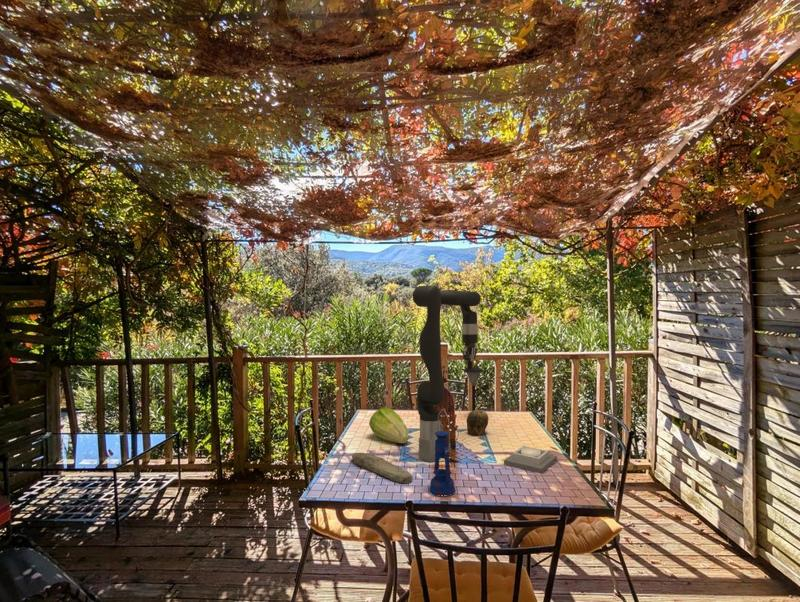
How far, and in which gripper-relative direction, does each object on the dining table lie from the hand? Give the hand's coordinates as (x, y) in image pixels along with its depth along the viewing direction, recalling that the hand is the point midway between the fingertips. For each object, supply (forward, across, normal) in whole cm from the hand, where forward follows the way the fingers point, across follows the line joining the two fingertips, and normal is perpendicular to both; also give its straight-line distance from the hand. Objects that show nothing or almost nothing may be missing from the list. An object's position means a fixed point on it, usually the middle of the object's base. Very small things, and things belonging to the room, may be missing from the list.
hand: (470, 368), depth 219 cm
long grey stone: (+36, -52, +16) cm, 65 cm away
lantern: (+36, -55, -15) cm, 67 cm away
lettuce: (+36, -18, +35) cm, 53 cm away
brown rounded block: (+36, +14, +3) cm, 38 cm away
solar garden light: (+36, +35, +14) cm, 52 cm away
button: (+33, -10, -33) cm, 48 cm away
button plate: (+36, -10, -33) cm, 49 cm away
